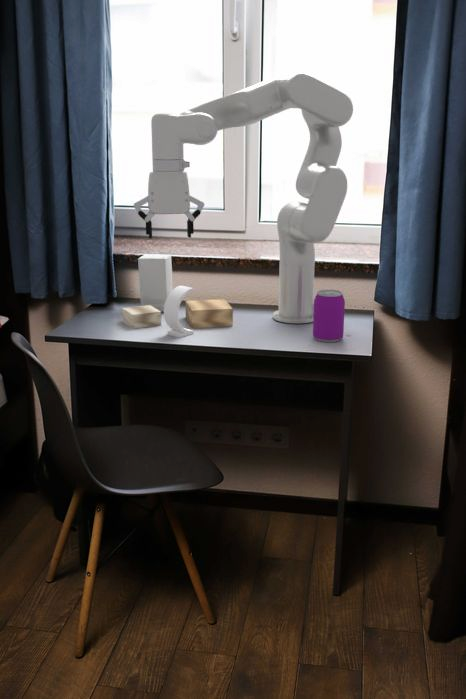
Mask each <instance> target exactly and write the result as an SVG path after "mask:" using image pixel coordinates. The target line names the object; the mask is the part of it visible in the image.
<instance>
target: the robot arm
mask: <svg viewBox="0 0 466 699" xmlns="http://www.w3.org/2000/svg"><path fill="white" fill-rule="evenodd" d="M289 109H300V110H301V115H302V118H303V120H304V122H305V123H306V126H307V128H308V131H309V143H308V146H307V149H306V150H307V151H306V154H304V155H305V156H304V158H303V161H302V164H301V166H300V170H299V171H298V173H297V176H296V179H295V189H296V192H297V193H298V195H300V196H301V197H302V198H304V199H308V201H307V203H305V202H300V201H293V202H289V203H287V204H285V205H284V206H282V208H281V209H280V211H279V212H278V216H277V221H276V224H277V225H276V226H277V227H276V228H277V233H278V241H279V264H278V265H279V266H278V267H279V269H278V270H279V272H278V273H279V274H278V276H279V278H278V310H275V311H274V312H272V318H273V320H275V321H278V322H280V323H285V324H310V323H313V313H314V291H315V290H314V289H315V286H314V285H315V264H316V251H315V250H316V249H315V244H319V243H323V242H324V241H326V239H328V238H329V236H330V235H331V233H332V231H333V229H334V227H335V225H336V222H337V220H338V216H339V215H340V212H341V210H342V207H343V204H344V202H345V198H346V195H347V192H348V180H347V176H346V174H345V172H344V170H342V169H341V168H340V167H338V166H337V165H338V160H339V157H340V154H341V151H342V143H343V142H342V141H343V140H342V134H341V130H340V127H342V126H345V125H346V124H348V122H349V121H350V120H351V118H352V116H353V113H354V105H353V102H352V99H351V98H350V97H349V96H348V95H347V94H346V93H345V92H343V91H342V90H340V89H338V88H336V87H334V86H332V85H330V84H329V83H327V82H325V81H323V80H321V79H319V78H317V77H315V76H314V75H311V74H309V73H306V72H284V73H280V74H277V75H276V76H273V77H270V78H268V79H265V80H263V81H261V82H258V83H256V84H254V85H251V86H248V87H246V88H243V89H241V90H239V91H238V90H237V91H236V92H233V93H230V94H227V95H225V96H222V97H220V98H217V99H214V100H210V101H207V102H205V103H202V104H200V105H198V106H196V107H193V108H190V109H187V110H185V111H183V112H181V113H180V114H179V113H156V114H154V115H153V116H152V117H151V121H150V122H151V154H152V156H151V158H152V161H151V162H152V171H151V172H149V175H148V184H147V185H148V186H147V196H145V197H143V198H141V199H140V200H138V201H136V202H135V203H133V207H134V209H135V211H136V213H137V214H138V217H140V218H141V219H142V220H143V221H144V222H145V234H146V235H148V238H149V239H152V238H153V223H152V221H151V220H152V218H153V217H154V215H183V214H184V215H185V216H186V217H187V220H186V226H187V227H186V228H187V229H186V230H187V231H186V232H187V237H188V238H190V239H191V238H192V235H193V234H194V232H195V231H194V230H195V229H194V222H195V221H196V219H197V218H199V216H200V215H201V213H202V210H203V209H204V207H205V202H203V201H201V200H200V199H197V197H196V198H195V197H194V196H192V195H190V194H191V193H190V184H189V177H188V173H187V171H185V169H187V168H190V167H191V166H190V164H191V162H190V161H187V160H186V161H185V160H184V156H185V155H184V144H189V145H196V146H197V145H198V146H204V145H205V146H206V145H207V144H210V143H211V142H213V141H214V139H215V138H216V136H217V134H218V131H223V130H226V129H231V128H239V127H246V126H250V125H253V124H256V123H258V122H260V121H263V120H264V119H267V118H269V117H272V116H274V115H276V114H279V113H282V112H285V111H287V110H289ZM191 203H192V204H195V205H196V206H197V207H196V209H195V210H194V211H193V212H190V209H191ZM146 204H147V205H148V206H147V207H148V212H147V213H145V212H144V211H143V209H142V208H141V207H142V206H143V205H146Z"/></svg>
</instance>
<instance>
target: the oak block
mask: <svg viewBox="0 0 466 699" xmlns="http://www.w3.org/2000/svg"><path fill="white" fill-rule="evenodd" d="M185 319H186V320H187V322H188V324H189V325H190V327H191V328H192V329H195V328H213V327H214V328H215V327H230V326H231V327H232V326H233V325H234V308H233V307H232V306H231V304H230V303H228V301H227V300H226V299H225V298H222V299H218V298H217V299H198V300H197V299H196V300H195V299H194V300H185Z"/></svg>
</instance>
